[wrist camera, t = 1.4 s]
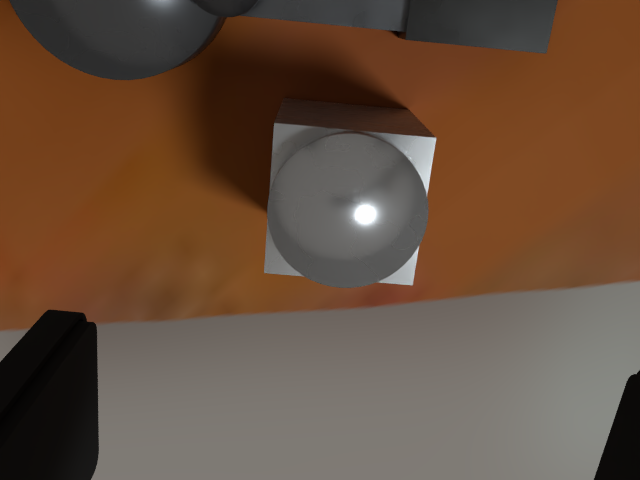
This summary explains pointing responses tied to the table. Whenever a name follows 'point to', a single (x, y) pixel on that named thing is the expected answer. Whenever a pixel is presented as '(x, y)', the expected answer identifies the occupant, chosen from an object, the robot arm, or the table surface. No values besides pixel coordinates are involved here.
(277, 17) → the ratchet
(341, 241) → the domed grey cube
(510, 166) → the table surface
